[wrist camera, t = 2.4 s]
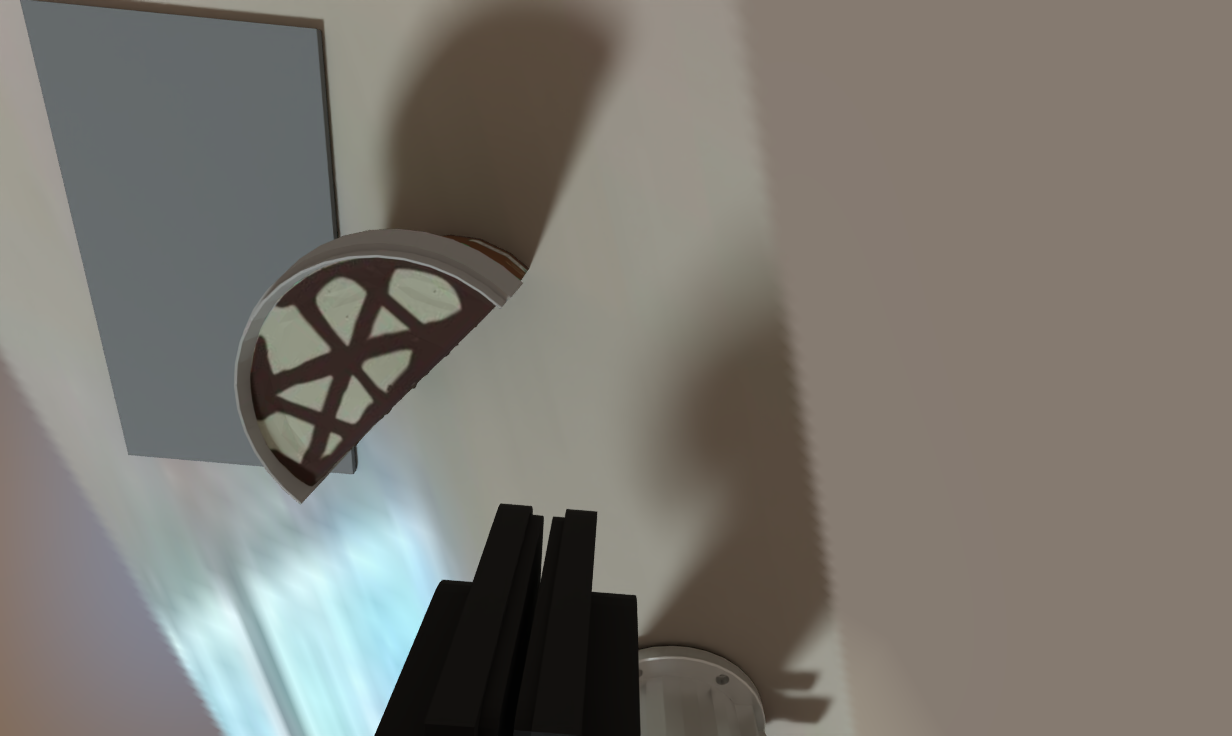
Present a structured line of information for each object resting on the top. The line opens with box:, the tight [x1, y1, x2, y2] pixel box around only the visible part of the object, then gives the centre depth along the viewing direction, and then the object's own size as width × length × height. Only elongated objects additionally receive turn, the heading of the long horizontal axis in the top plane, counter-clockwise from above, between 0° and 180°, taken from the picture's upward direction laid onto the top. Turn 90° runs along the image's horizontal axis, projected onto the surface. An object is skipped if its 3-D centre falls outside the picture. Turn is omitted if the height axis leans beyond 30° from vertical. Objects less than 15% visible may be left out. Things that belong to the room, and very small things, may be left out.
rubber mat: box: [20, 0, 356, 474], centre depth 29 cm, size 12×22×1 cm, turn 175°
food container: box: [234, 229, 529, 505], centre depth 24 cm, size 12×6×10 cm, turn 133°
